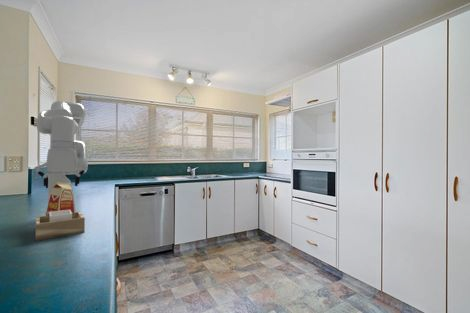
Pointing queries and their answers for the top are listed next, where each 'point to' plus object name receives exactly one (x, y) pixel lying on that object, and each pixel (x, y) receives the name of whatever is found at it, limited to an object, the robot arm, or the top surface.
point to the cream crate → (60, 215)
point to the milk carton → (61, 198)
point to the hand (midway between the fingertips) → (62, 186)
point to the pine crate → (59, 227)
